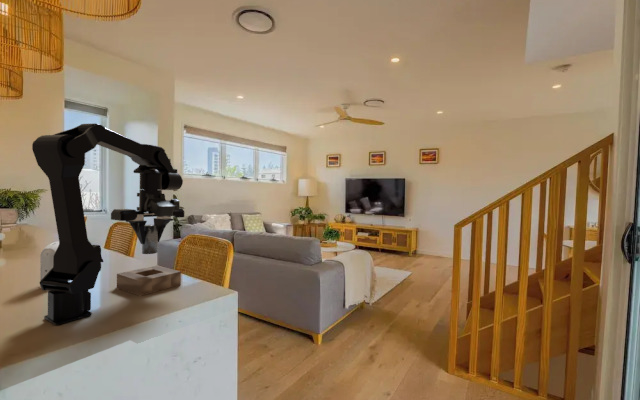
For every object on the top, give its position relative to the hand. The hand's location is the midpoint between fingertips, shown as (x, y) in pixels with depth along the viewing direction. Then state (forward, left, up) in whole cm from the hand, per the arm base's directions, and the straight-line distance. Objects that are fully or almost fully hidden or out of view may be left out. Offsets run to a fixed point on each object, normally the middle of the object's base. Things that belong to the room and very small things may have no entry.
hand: (150, 243), depth 89 cm
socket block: (0, 0, -13) cm, 13 cm away
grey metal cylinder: (0, 0, -3) cm, 3 cm away
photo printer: (-14, +23, -13) cm, 30 cm away
